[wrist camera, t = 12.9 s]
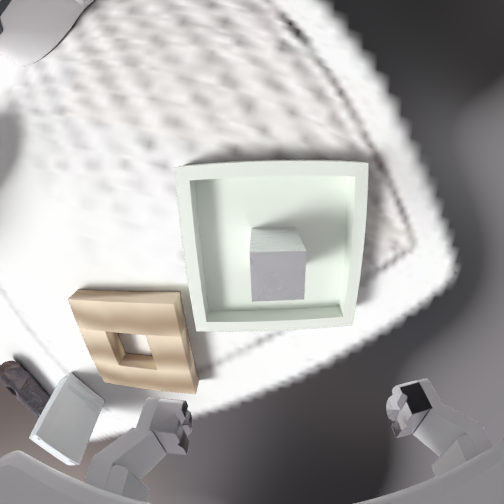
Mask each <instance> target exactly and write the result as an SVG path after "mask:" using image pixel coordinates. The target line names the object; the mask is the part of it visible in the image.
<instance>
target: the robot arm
mask: <svg viewBox="0 0 504 504" xmlns="http://www.w3.org/2000/svg"><path fill="white" fill-rule="evenodd" d="M93 1H94V0H0V55H2V56H4V57H6V58H7V59H9V60H10V61H12V62H13V63H14V64H16V65H18V66H27V65H30V64H33V63H35V62H36V61H38V60H39V59H41V58H42V57H44V56H45V55H46V54H47V53H48V52H50V51H51V50H52V49H53V48H54V47H55V46H56V45H57V44H58V43H59V42H60V41H61V39H62V38H63V37H64V36H65V35H66V33H67V32H68V31H69V30H70V28H71V27H72V26H73V24H74V23H75V21H76V20H77V18H78V17H79V15H80V14H81V13H82V11H83V10H84V9H85V8H86V7H87V6H88V5H89V4H90V3H92V2H93ZM392 392H393V395H392V396H391V397H389V399H388V401H387V405H386V410H387V415H388V418H389V419H391V420H392V421H393V424H392V428H393V431H394V434H395V437H396V438H399V437H403V436H406V435H410V434H413V433H414V434H413V435H414V436H416V437H417V438H418V439H419V440H421V441H422V442H423V443H424V444H425V445H426V446H428V447H429V448H430V449H431V450H432V451H434V452H435V453H436V454H437V455H438V456H440V458H438V459H437V460H436V461H435V462H434V463H433V465H432V469H433V472H434V475H435V477H434V478H431V479H429V480H427V481H424V482H422V483H419V484H417V485H414V486H412V487H409V488H406V489H403V490H400V491H398V492H395V493H391V494H389V495H385V496H382V497H378V498H375V499H371V500H367V501H363V502H359V503H355V504H504V439H502V440H501V441H499V442H498V443H496V444H495V445H492V443H491V441H490V439H489V437H488V435H487V433H486V431H485V430H484V428H483V426H482V425H481V424H480V423H478V422H476V421H474V420H472V419H470V418H469V417H467V416H465V415H463V414H462V413H460V412H458V411H457V410H455V409H453V408H452V407H450V406H448V405H446V404H444V405H443V404H442V402H441V400H440V399H439V397H438V395H437V393H436V392H435V390H434V388H433V386H432V384H431V383H430V381H429V380H428V379H427V378H424V379H421V380H417V381H412V382H409V383H405V384H401V385H397V386H395V387H394V388H393V390H392ZM187 408H188V404H187V402H186V401H183V400H173V399H165V398H158V397H150V396H149V397H148V398H147V399H146V401H145V404H144V406H143V409H142V412H141V415H140V418H139V421H138V424H137V426H136V428H132V429H130V430H129V431H128V432H126V433H125V434H124V435H122V436H121V437H120V438H118V439H117V440H116V441H114V442H113V443H111V444H110V445H109V446H107V447H106V448H104V449H103V450H102V451H100V452H99V453H97V454H96V455H95V456H93V458H92V461H91V464H90V466H89V469H88V471H87V474H86V477H85V479H84V482H82V481H79V480H77V479H75V478H73V477H70V476H68V475H66V474H64V473H62V472H59V471H57V470H55V469H53V468H51V467H49V466H47V465H45V464H43V463H42V462H40V461H38V460H36V459H34V458H33V457H31V456H29V455H27V454H26V453H24V452H22V451H14V452H11V453H9V454H6V455H4V456H2V457H0V504H152V503H148V499H149V495H150V490H149V488H148V487H147V486H145V485H144V484H143V483H142V482H141V481H140V480H141V479H142V478H143V477H144V476H145V475H146V474H147V473H148V472H149V471H150V470H151V469H152V468H153V467H154V466H155V465H156V464H157V463H158V462H159V461H160V460H161V459H162V458H163V457H164V456H165V455H166V454H167V453H173V454H183V455H187V452H188V447H189V439H188V437H187V436H188V435H189V434H190V433H191V431H192V415H191V412H190V411H188V410H187Z"/></svg>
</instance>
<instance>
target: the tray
mask: <svg viewBox="0 0 504 504" xmlns="http://www.w3.org/2000/svg"><path fill="white" fill-rule="evenodd" d="M174 170H175V182H176V193H177V203H178V212H179V221H180V229H181V238H182V245H183V253H184V260H185V267H186V273H187V280H188V286H189V293H190V299H191V304H192V310H193V316H194V321H195V327H196V331H210V332H237V331H277V330H297V329H313V328H327V327H339V326H350V325H353V320H354V314H355V308H356V302H357V296H358V289H359V282H360V275H361V267H362V258H363V249H364V239H365V228H366V214H367V196H368V163H365V162H359V161H344V160H251V161H231V162H215V163H202V164H191V165H183V166H179V167H175V168H174ZM274 227H296V229H297V231H298V234H299V236H300V238H301V240H302V242H303V245H304V247H305V249H306V273H305V295H304V300H284V301H256V302H252V294H251V274H250V255H249V251H250V238H251V228H274Z"/></svg>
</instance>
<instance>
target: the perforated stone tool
mask: <svg viewBox="0 0 504 504" xmlns="http://www.w3.org/2000/svg"><path fill="white" fill-rule="evenodd" d="M0 381H1V382H2V383H3V384H4V385H5V387H6V388H7V389H8V390H9V391H10V392H11V394H12V395H14V397H15V398H17V399H18V400H19V401H20V402H21V403H22V404H24V405H25V406H26V407H27V408H29V409H30V410H32V411H33V412H35V413H37V414H39V415H41V413H42V412H43V410H44V408H45V406H46V404H47V402H48V401H49V399H50V397H49V395H48V394H47V393H46V392H45V391H44V390H43V389H42V388H41V387H40V384H39V383H38V382H37V381H36V380H35V379H34V377H33V376H32V375H31V374H30V373H29V372H27V371H26V370H24V369H23V368H22V365H21V364H20V363H19V362H15V361H7V362H4V363H3V364H2V365H0Z"/></svg>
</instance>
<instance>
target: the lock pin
mask: <svg viewBox="0 0 504 504" xmlns="http://www.w3.org/2000/svg"><path fill="white" fill-rule="evenodd" d="M249 255H250V274H251V294H252V302H256V301H284V300H304V295H305V273H306V249H305V247H304V245H303V242H302V240H301V238H300V236H299V234H298V231H297V229H296V227H274V228H251V238H250V251H249Z"/></svg>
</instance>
